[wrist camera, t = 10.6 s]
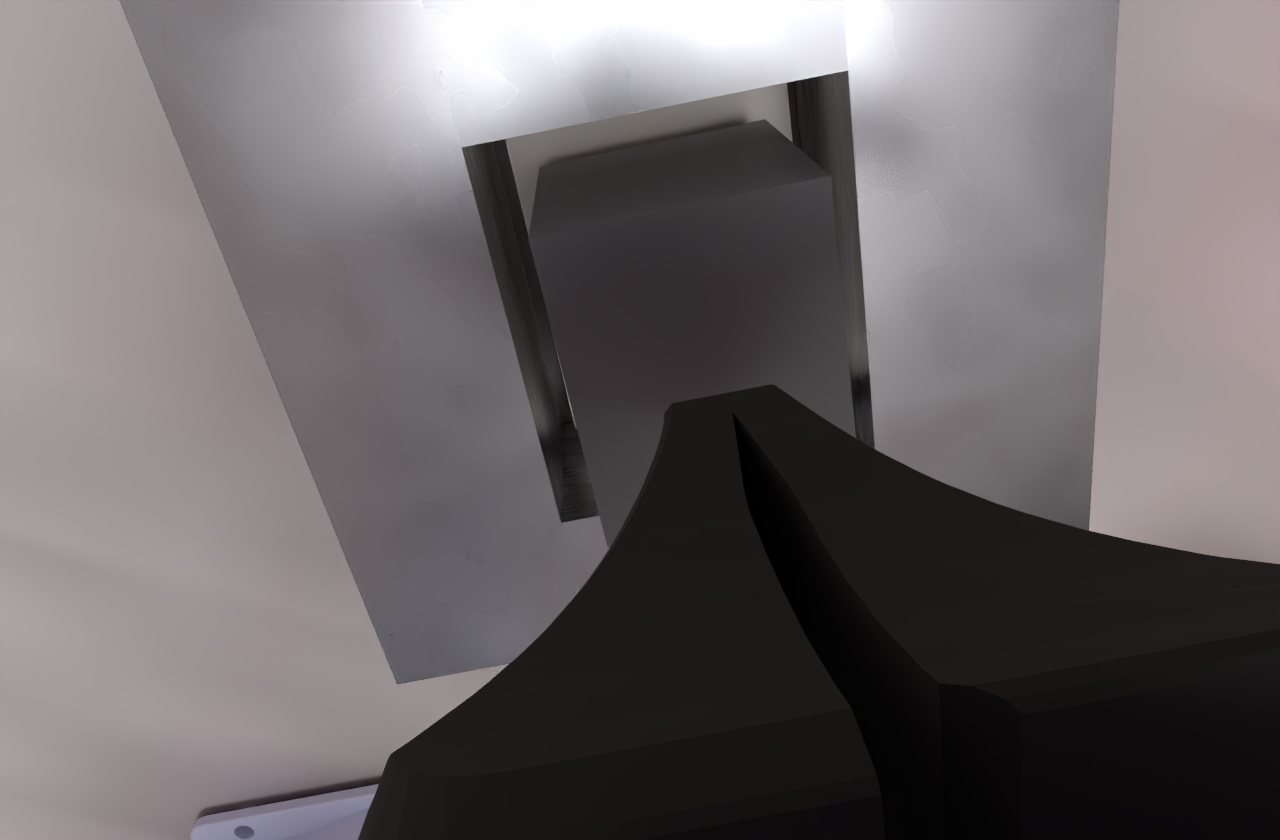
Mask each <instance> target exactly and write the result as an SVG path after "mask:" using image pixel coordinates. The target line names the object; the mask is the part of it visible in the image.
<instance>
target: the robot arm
mask: <svg viewBox="0 0 1280 840" xmlns="http://www.w3.org/2000/svg"><path fill="white" fill-rule="evenodd" d="M190 838H191V840H1280V564H1272V563H1264V562H1256V561H1248V560H1240V559H1231V558H1223V557H1216V556H1210V555H1204V554H1198V553H1193V552H1188V551H1183V550H1177V549H1172V548H1167V547H1162V546H1156V545H1151V544H1146V543H1141V542H1135V541H1131V540H1126V539H1122V538H1118V537H1113V536H1109V535H1105V534H1100V533H1096V532H1092V531H1088V530H1084V529H1080V528H1077V527H1073V526H1070V525H1066V524H1062V523H1059V522H1055V521H1052V520H1048V519H1045V518H1041V517H1038V516H1034V515H1031V514H1027V513H1024V512H1021V511H1018V510H1015V509H1012V508H1009V507H1006V506H1003V505H1000V504H997V503H994V502H991V501H989V500H986V499H984V498H981V497H979V496H976V495H973V494H971V493H968V492H966V491H963V490H960V489H958V488H955V487H953V486H950V485H948V484H945V483H943V482H941V481H938V480H936V479H934V478H932V477H929V476H927V475H925V474H923V473H921V472H919V471H917V470H915V469H913V468H911V467H909V466H907V465H905V464H903V463H901V462H899V461H897V460H895V459H893V458H891V457H889V456H887V455H885V454H883V453H881V452H879V451H877V450H876V449H874V448H872V447H870V446H868V445H867V444H865V443H863V442H861V441H860V440H858V439H856V438H855V437H853V436H851V435H850V434H848V433H846V432H845V431H843V430H841V429H840V428H838V427H836V426H835V425H833V424H832V423H830V422H829V421H827V420H826V419H824V418H822V417H821V416H819V415H818V414H816V413H815V412H813V411H812V410H810V409H809V408H807V407H806V406H804V405H803V404H801V403H800V402H799V401H797V400H796V399H794V398H793V397H791V396H790V395H788V394H787V393H786V392H784V391H783V390H781V389H780V388H778V387H777V386H775V385H773V384H770V385H765V386H759V387H754V388H749V389H744V390H739V391H734V392H728V393H723V394H718V395H713V396H708V397H702V398H697V399H692V400H687V401H682V402H676V403H672V404H671V405H670V406H669V408H668V409H667V410H666V412H665V413H664V423H663V429H662V433H661V437H660V441H659V444H658V447H657V450H656V453H655V456H654V459H653V461H652V464H651V466H650V469H649V471H648V474H647V476H646V479H645V481H644V484H643V486H642V488H641V491H640V493H639V495H638V497H637V499H636V501H635V503H634V505H633V507H632V508H631V510H630V512H629V514H628V516H627V518H626V520H625V522H624V524H623V526H622V528H621V530H620V531H619V533H618V535H617V537H616V538H615V540H614V542H613V543H612V545H611V546H610V548H609V550H608V551H607V553H606V554H605V556H604V557H603V559H602V560H601V562H600V563H599V565H598V566H597V568H596V569H595V570H594V572H593V573H592V575H591V576H590V578H589V579H588V580H587V582H586V583H585V584H584V586H583V587H582V588H581V589H580V591H579V592H578V593H577V594H576V596H575V597H574V598H573V599H572V600H571V602H570V603H569V604H568V605H567V606H566V607H565V609H564V610H563V611H562V612H561V613H560V614H559V615H558V617H557V618H556V619H555V620H554V621H553V622H552V623H551V624H550V626H549V627H548V628H547V629H546V630H545V631H544V632H543V633H542V634H541V635H540V636H539V637H538V638H537V639H536V640H535V641H534V642H533V643H532V644H531V645H529V646H528V647H527V648H526V649H525V650H524V651H523V652H522V653H521V654H520V655H519V656H518V657H517V658H516V659H515V660H513V661H512V662H511V663H510V664H509V665H508V666H507V667H505V668H504V669H503V670H502V671H501V672H500V673H499V674H498V675H496V676H495V677H494V678H493V679H492V680H491V681H489V682H488V683H487V684H486V685H485V686H483V687H482V688H481V689H480V690H478V691H477V692H476V693H475V694H474V695H472V696H471V697H470V698H468V699H467V700H466V701H464V702H463V703H462V704H460V705H459V706H457V707H456V708H455V709H453V710H452V711H451V712H449V713H448V714H447V715H445V716H444V717H442V718H441V719H440V720H438V721H437V722H436V723H434V724H433V725H432V726H430V727H429V728H427V729H426V730H425V731H423V732H422V733H421V734H419V735H418V736H417V737H415V738H414V739H412V740H411V741H410V742H408V743H407V744H405V745H404V746H402V747H401V748H399V749H398V750H396V751H395V752H393V753H392V754H391V755H390V757H389V758H388V760H387V763H386V766H385V769H384V771H383V774H382V777H381V779H380V782H379V784H376V785H370V786H365V787H359V788H354V789H349V790H343V791H338V792H332V793H327V794H321V795H316V796H310V797H305V798H299V799H294V800H289V801H283V802H278V803H272V804H267V805H261V806H256V807H250V808H245V809H239V810H234V811H229V812H223V813H218V814H212V815H207V816H204V817H201V818H199V819H198V820H197V821H195V823H194V826H193V828H192V830H191V833H190Z"/></svg>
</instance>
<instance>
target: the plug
mask: <svg viewBox="0 0 1280 840" xmlns="http://www.w3.org/2000/svg"><path fill="white" fill-rule="evenodd" d="M528 241H529V244H530V248H531V252H532V256H533V260H534V264H535V268H536V272H537V275H538V279H539V283H540V287H541V291H542V295H543V299H544V303H545V307H546V310H547V314H548V318H549V322H550V326H551V330H552V334H553V338H554V341H555V345H556V349H557V353H558V357H559V361H560V365H561V369H562V372H563V376H564V380H565V384H566V388H567V392H568V396H569V400H570V404H571V407H572V411H573V415H574V419H575V423H576V427H577V431H578V435H579V438H580V442H581V446H582V450H583V454H584V458H585V462H586V466H587V470H588V473H589V477H590V481H591V485H592V489H593V493H594V497H595V501H596V504H597V508H598V512H599V516H600V520H601V524H602V528H603V532H604V535H605V539H606V543H607V547H608V548H609V547H610V546H611V545H612V543H613V542H614V540H615V538H616V537H617V535H618V533H619V531H620V530H621V528H622V526H623V524H624V522H625V520H626V518H627V516H628V514H629V512H630V510H631V508H632V507H633V505H634V503H635V501H636V499H637V497H638V495H639V493H640V491H641V488H642V486H643V484H644V481H645V479H646V476H647V474H648V471H649V469H650V466H651V464H652V461H653V459H654V456H655V453H656V450H657V447H658V444H659V441H660V437H661V433H662V429H663V423H664V413H665V412H666V410H667V409H668V408H669V406H670V405H671V404H672V403H676V402H682V401H687V400H692V399H697V398H702V397H708V396H713V395H718V394H723V393H728V392H734V391H739V390H744V389H749V388H754V387H759V386H765V385H770V384H773V385H775V386H777V387H778V388H780V389H781V390H783V391H784V392H786V393H787V394H788V395H790V396H791V397H793V398H794V399H796V400H797V401H799V402H800V403H801V404H803V405H804V406H806V407H807V408H809V409H810V410H812V411H813V412H815V413H816V414H818V415H819V416H821V417H822V418H824V419H826V420H827V421H829V422H830V423H832V424H833V425H835V426H836V427H838V428H840V429H841V430H843V431H845V432H846V433H848V434H850V435H851V436H853V437H855V438H856V433H855V423H854V413H853V402H852V392H851V382H850V371H849V361H848V351H847V340H846V330H845V319H844V309H843V299H842V288H841V278H840V268H839V257H838V247H837V236H836V226H835V216H834V205H833V195H832V185H831V175H829V174H828V173H827V172H826V171H825V170H824V169H822V168H821V167H820V166H819V165H818V164H817V163H816V162H814V161H813V160H812V159H811V158H810V157H809V156H807V155H806V154H805V153H804V152H803V151H802V150H800V149H799V148H798V147H797V146H796V145H795V144H794V143H792V142H791V141H790V140H789V139H788V138H787V137H785V136H784V135H783V134H782V133H781V132H780V131H778V130H777V129H776V128H775V127H774V126H773V125H772V124H770V123H769V122H768V121H767V120H766V119H763V120H759V121H754V122H749V123H745V124H740V125H735V126H731V127H726V128H721V129H717V130H712V131H707V132H702V133H698V134H693V135H688V136H684V137H679V138H674V139H670V140H665V141H660V142H656V143H651V144H646V145H641V146H637V147H632V148H627V149H623V150H618V151H613V152H609V153H604V154H599V155H595V156H590V157H585V158H580V159H576V160H571V161H566V162H562V163H557V164H552V165H548V166H543V167H539V172H538V179H537V185H536V192H535V198H534V205H533V211H532V218H531V224H530V231H529V237H528Z"/></svg>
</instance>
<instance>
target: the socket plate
mask: <svg viewBox="0 0 1280 840" xmlns="http://www.w3.org/2000/svg"><path fill="white" fill-rule="evenodd" d="M119 1H120V3H121V5H122V8H123V10H124V13H125V15H126V18H127V20H128V23H129V25H130V28H131V30H132V33H133V35H134V37H135V40H136V42H137V45H138V47H139V50H140V52H141V55H142V57H143V60H144V62H145V65H146V67H147V69H148V72H149V74H150V77H151V79H152V82H153V84H154V87H155V89H156V92H157V94H158V97H159V99H160V101H161V104H162V106H163V109H164V111H165V114H166V116H167V119H168V121H169V124H170V126H171V129H172V131H173V134H174V136H175V138H176V141H177V143H178V146H179V148H180V151H181V153H182V156H183V158H184V161H185V163H186V166H187V168H188V170H189V173H190V175H191V178H192V180H193V183H194V185H195V188H196V190H197V193H198V195H199V198H200V200H201V202H202V205H203V207H204V210H205V212H206V215H207V217H208V220H209V222H210V225H211V227H212V230H213V232H214V234H215V237H216V239H217V242H218V244H219V247H220V249H221V252H222V254H223V257H224V259H225V262H226V264H227V267H228V269H229V271H230V274H231V276H232V279H233V281H234V284H235V286H236V289H237V291H238V294H239V296H240V299H241V301H242V303H243V306H244V308H245V311H246V313H247V316H248V318H249V321H250V323H251V326H252V328H253V331H254V333H255V335H256V338H257V340H258V343H259V345H260V348H261V350H262V353H263V355H264V358H265V360H266V363H267V365H268V367H269V370H270V372H271V375H272V377H273V380H274V382H275V385H276V387H277V390H278V392H279V395H280V397H281V400H282V402H283V404H284V407H285V409H286V412H287V414H288V417H289V419H290V422H291V424H292V427H293V429H294V432H295V434H296V436H297V439H298V441H299V444H300V446H301V449H302V451H303V454H304V456H305V459H306V461H307V464H308V466H309V468H310V471H311V473H312V476H313V478H314V481H315V483H316V486H317V488H318V491H319V493H320V496H321V498H322V500H323V503H324V505H325V508H326V510H327V513H328V515H329V518H330V520H331V523H332V525H333V528H334V530H335V533H336V535H337V537H338V540H339V542H340V545H341V547H342V550H343V552H344V555H345V557H346V560H347V562H348V565H349V567H350V569H351V572H352V574H353V577H354V579H355V582H356V584H357V587H358V589H359V592H360V594H361V597H362V599H363V601H364V604H365V606H366V609H367V611H368V614H369V616H370V619H371V621H372V624H373V626H374V629H375V631H376V633H377V636H378V638H379V641H380V643H381V646H382V648H383V651H384V653H385V656H386V658H387V661H388V663H389V666H390V668H391V670H392V673H393V675H394V678H395V680H396V683H397V684H401V683H407V682H412V681H417V680H423V679H428V678H433V677H439V676H444V675H450V674H455V673H460V672H466V671H471V670H476V669H482V668H487V667H493V666H498V665H503V664H509V663H511V662H512V661H513V660H515V659H516V658H517V657H518V656H519V655H520V654H521V653H522V652H523V651H524V650H525V649H526V648H527V647H528V646H529V645H531V644H532V643H533V642H534V641H535V640H536V639H537V638H538V637H539V636H540V635H541V634H542V633H543V632H544V631H545V630H546V629H547V628H548V627H549V626H550V624H551V623H552V622H553V621H554V620H555V619H556V618H557V617H558V615H559V614H560V613H561V612H562V611H563V610H564V609H565V607H566V606H567V605H568V604H569V603H570V602H571V600H572V599H573V598H574V597H575V596H576V594H577V593H578V592H579V591H580V589H581V588H582V587H583V586H584V584H585V583H586V582H587V580H588V579H589V578H590V576H591V575H592V573H593V572H594V570H595V569H596V568H597V566H598V565H599V563H600V562H601V560H602V559H603V557H604V556H605V554H606V553H607V551H608V550H609V548H610V547H609V548H608V547H607V543H606V539H605V535H604V532H603V528H602V524H601V520H600V516H599V512H598V508H597V504H596V501H595V497H594V493H593V489H592V485H591V481H590V477H589V473H588V470H587V466H586V462H585V458H584V454H583V450H582V446H581V442H580V438H579V435H578V431H577V428H576V429H575V426H574V422H571V423H566V424H563V422H562V418H561V414H560V410H559V406H558V402H557V398H556V394H555V390H554V386H553V382H552V378H551V374H550V370H549V366H548V362H547V358H546V353H545V349H544V345H543V341H542V337H541V333H540V329H539V325H538V321H537V317H536V313H535V309H534V305H533V301H532V297H531V293H530V289H529V285H528V281H527V277H526V273H525V269H524V265H523V261H522V257H521V253H520V249H519V245H518V241H517V237H516V233H515V229H514V225H513V221H512V217H511V213H510V209H509V205H508V201H507V197H506V193H505V189H504V185H503V181H502V177H501V173H500V169H499V165H498V161H497V157H496V153H495V149H494V145H493V141H497V140H502V139H507V138H512V137H517V136H522V135H527V134H532V133H537V132H542V131H547V130H552V129H557V128H562V127H567V126H572V125H577V124H582V123H587V122H592V121H597V120H602V119H607V118H612V117H617V116H622V115H627V114H632V113H637V112H642V111H647V110H652V109H657V108H662V107H667V106H672V105H677V104H682V103H687V102H692V101H697V100H702V99H707V98H712V97H717V96H722V95H727V94H732V93H737V92H742V91H747V90H752V89H757V88H762V87H767V86H772V85H777V84H782V83H787V82H792V81H795V91H796V101H797V111H798V122H799V132H800V142H801V150H802V151H803V152H804V153H805V154H806V155H807V156H809V157H810V158H811V159H812V160H813V161H814V162H816V163H817V164H818V165H819V166H820V167H821V168H822V169H824V170H825V171H826V172H827V173H828V174H829V175H831V185H832V195H833V205H834V216H835V226H836V236H837V247H838V257H839V268H840V278H841V288H842V299H843V309H844V319H845V330H846V340H847V351H848V361H849V371H850V382H851V392H852V402H853V413H854V423H855V433H856V439H858V440H860V441H861V442H863V443H865V444H867V445H868V446H870V447H872V448H874V449H876V450H877V451H879V452H881V453H883V454H885V455H887V456H889V457H891V458H893V459H895V460H897V461H899V462H901V463H903V464H905V465H907V466H909V467H911V468H913V469H915V470H917V471H919V472H921V473H923V474H925V475H927V476H929V477H932V478H934V479H936V480H938V481H941V482H943V483H945V484H948V485H950V486H953V487H955V488H958V489H960V490H963V491H966V492H968V493H971V494H973V495H976V496H979V497H981V498H984V499H986V500H989V501H991V502H994V503H997V504H1000V505H1003V506H1006V507H1009V508H1012V509H1015V510H1018V511H1021V512H1024V513H1027V514H1031V515H1034V516H1038V517H1041V518H1045V519H1048V520H1052V521H1055V522H1059V523H1062V524H1066V525H1070V526H1073V527H1077V528H1080V529H1084V530H1088V531H1089V518H1090V501H1091V483H1092V466H1093V449H1094V431H1095V414H1096V397H1097V379H1098V362H1099V344H1100V327H1101V310H1102V292H1103V275H1104V258H1105V240H1106V223H1107V205H1108V188H1109V171H1110V153H1111V136H1112V119H1113V101H1114V84H1115V67H1116V49H1117V32H1118V14H1119V0H119Z"/></svg>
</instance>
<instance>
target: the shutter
mask: <svg viewBox="0 0 1280 840" xmlns="http://www.w3.org/2000/svg"><path fill="white" fill-rule="evenodd" d="M763 119H766V120H767V121H768V122H769V123H770V124H772V125H773V126H774V127H775V128H776V129H777V130H778V131H780V132H781V133H782V134H783V135H784V136H785V137H787V138H788V139H789V140H790V141H791V142H792V143H793V140H792V130H791V120H790V110H789V100H788V90H787V83H782V84H777V85H772V86H767V87H762V88H757V89H752V90H747V91H742V92H737V93H732V94H727V95H722V96H717V97H712V98H707V99H702V100H697V101H692V102H687V103H682V104H677V105H672V106H667V107H662V108H657V109H652V110H647V111H642V112H637V113H632V114H627V115H622V116H617V117H612V118H607V119H602V120H597V121H592V122H587V123H582V124H577V125H572V126H567V127H562V128H557V129H552V130H547V131H542V132H537V133H532V134H527V135H522V136H517V137H512V138H507V139H505V142H506V146H507V150H508V154H509V158H510V162H511V166H512V170H513V174H514V179H515V183H516V187H517V191H518V195H519V199H520V203H521V207H522V212H523V216H524V220H525V224H526V228H527V232H528V236H529V231H530V224H531V218H532V211H533V205H534V198H535V192H536V185H537V179H538V172H539V167H543V166H548V165H552V164H557V163H562V162H566V161H571V160H576V159H580V158H585V157H590V156H595V155H599V154H604V153H609V152H613V151H618V150H623V149H627V148H632V147H637V146H641V145H646V144H651V143H656V142H660V141H665V140H670V139H674V138H679V137H684V136H688V135H693V134H698V133H702V132H707V131H712V130H717V129H721V128H726V127H731V126H735V125H740V124H745V123H749V122H754V121H759V120H763ZM548 319H549V318H548ZM549 323H550V322H549ZM550 327H551V326H550ZM551 331H552V330H551ZM552 335H553V334H552ZM553 339H554V338H553ZM554 343H555V341H554ZM555 347H556V345H555ZM556 352H557V349H556ZM557 356H558V353H557ZM558 360H559V357H558ZM559 364H560V361H559ZM560 368H561V365H560ZM561 372H562V369H561ZM562 376H563V372H562ZM563 380H564V376H563ZM564 384H565V380H564ZM565 389H566V393H567V397H568V401H569V405H570V409H571V413H572V417H573V421H574V426H575V429H576V428H577V427H576V423H575V419H574V415H573V411H572V407H571V404H570V400H569V396H568V392H567V388H566V384H565Z"/></svg>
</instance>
